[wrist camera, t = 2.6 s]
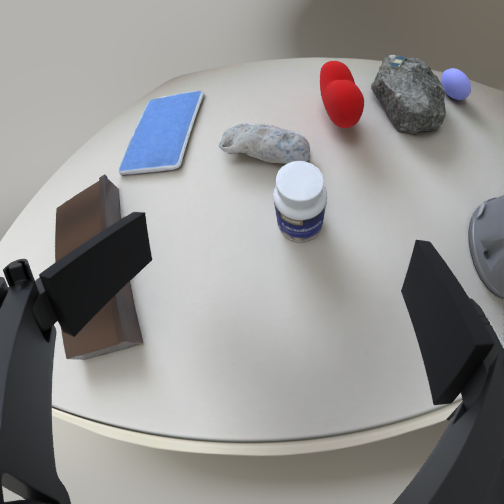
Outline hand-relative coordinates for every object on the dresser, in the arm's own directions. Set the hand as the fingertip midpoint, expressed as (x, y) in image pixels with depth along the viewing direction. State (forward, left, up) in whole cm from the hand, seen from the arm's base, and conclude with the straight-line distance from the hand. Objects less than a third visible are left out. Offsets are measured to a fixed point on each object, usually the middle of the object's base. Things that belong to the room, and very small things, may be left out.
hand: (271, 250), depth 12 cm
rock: (-2, -41, -21) cm, 46 cm away
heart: (+7, -29, -21) cm, 36 cm away
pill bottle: (+4, -10, -21) cm, 23 cm away
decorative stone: (+14, -18, -21) cm, 31 cm away
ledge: (+27, +11, -20) cm, 36 cm away
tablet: (+34, -15, -21) cm, 43 cm away
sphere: (-11, -54, -21) cm, 59 cm away
